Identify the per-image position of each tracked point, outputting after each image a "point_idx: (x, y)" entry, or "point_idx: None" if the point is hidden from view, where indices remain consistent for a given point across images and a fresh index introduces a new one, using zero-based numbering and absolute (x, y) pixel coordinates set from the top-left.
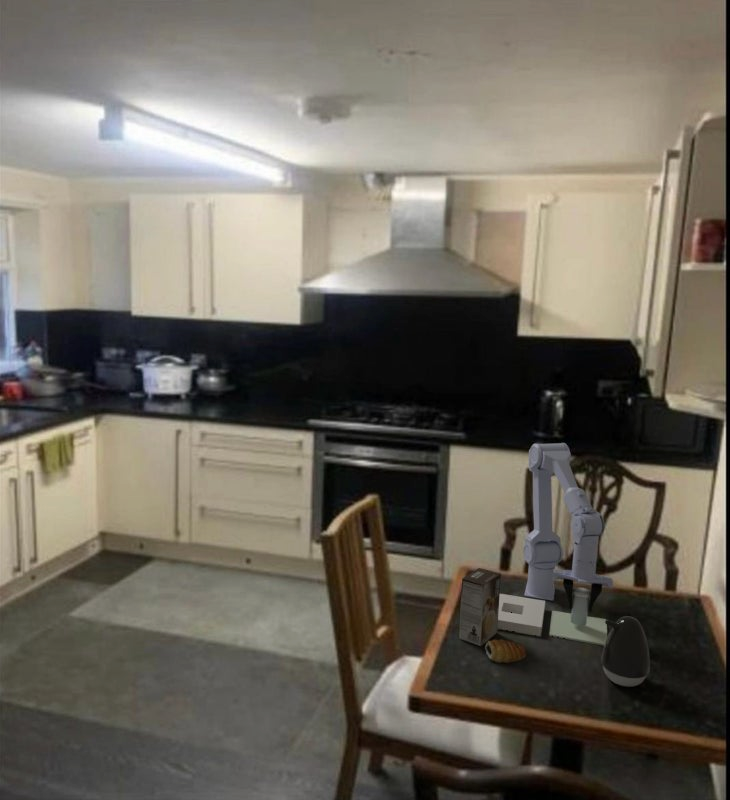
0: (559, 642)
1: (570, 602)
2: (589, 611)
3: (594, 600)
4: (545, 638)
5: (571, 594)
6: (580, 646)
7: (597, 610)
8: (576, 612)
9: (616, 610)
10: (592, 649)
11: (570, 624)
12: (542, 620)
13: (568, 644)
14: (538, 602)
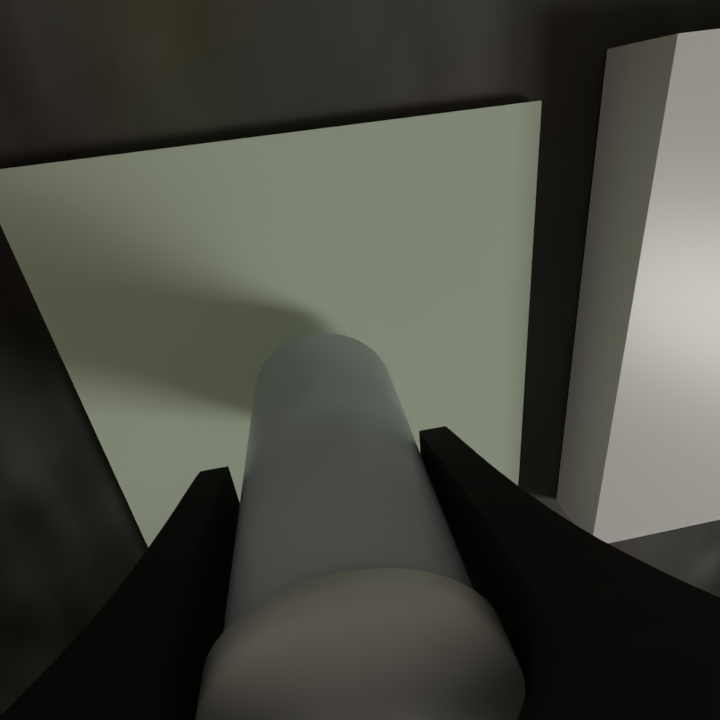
0: (434, 5)
1: (471, 469)
2: (217, 471)
3: (104, 614)
4: (565, 30)
5: (532, 564)
6: (225, 19)
7: None
8: (358, 397)
9: None
10: (92, 7)
11: None
12: (646, 217)
13: (345, 3)
14: (641, 504)
